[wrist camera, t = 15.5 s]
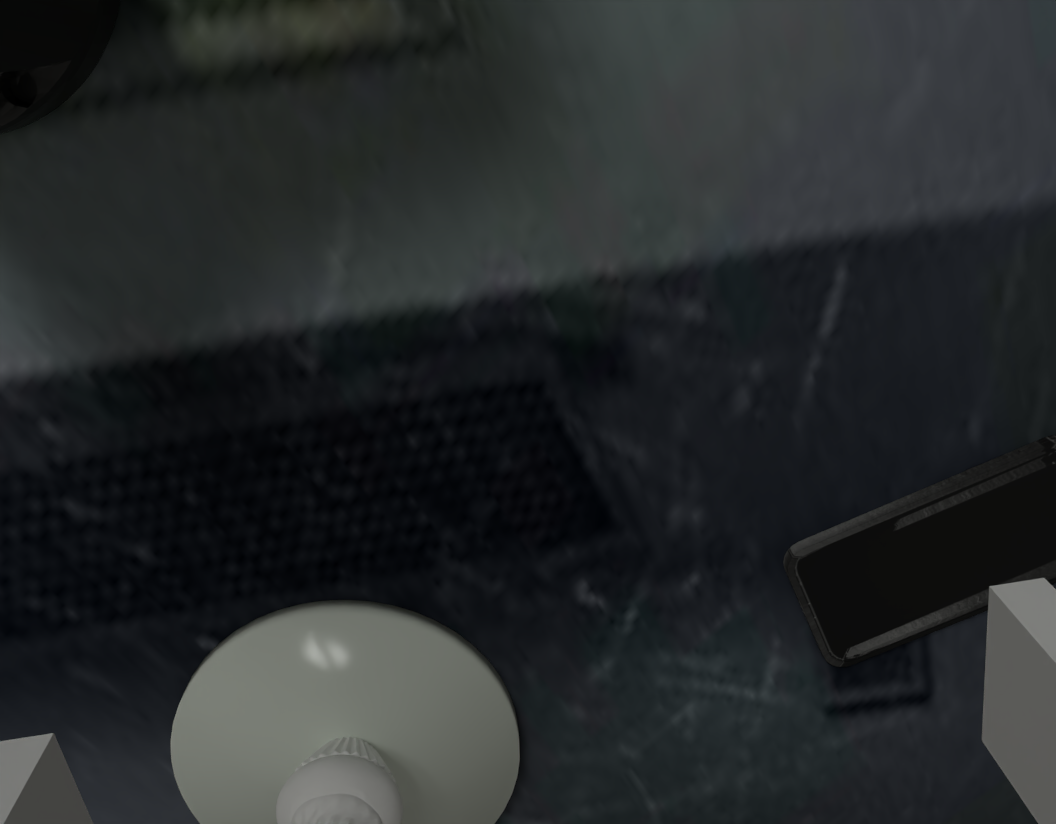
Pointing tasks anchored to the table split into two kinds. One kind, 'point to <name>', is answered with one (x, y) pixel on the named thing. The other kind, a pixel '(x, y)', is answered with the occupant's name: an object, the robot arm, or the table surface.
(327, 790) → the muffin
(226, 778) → the ceramic plate
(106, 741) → the table surface
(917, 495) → the phone
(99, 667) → the table surface
